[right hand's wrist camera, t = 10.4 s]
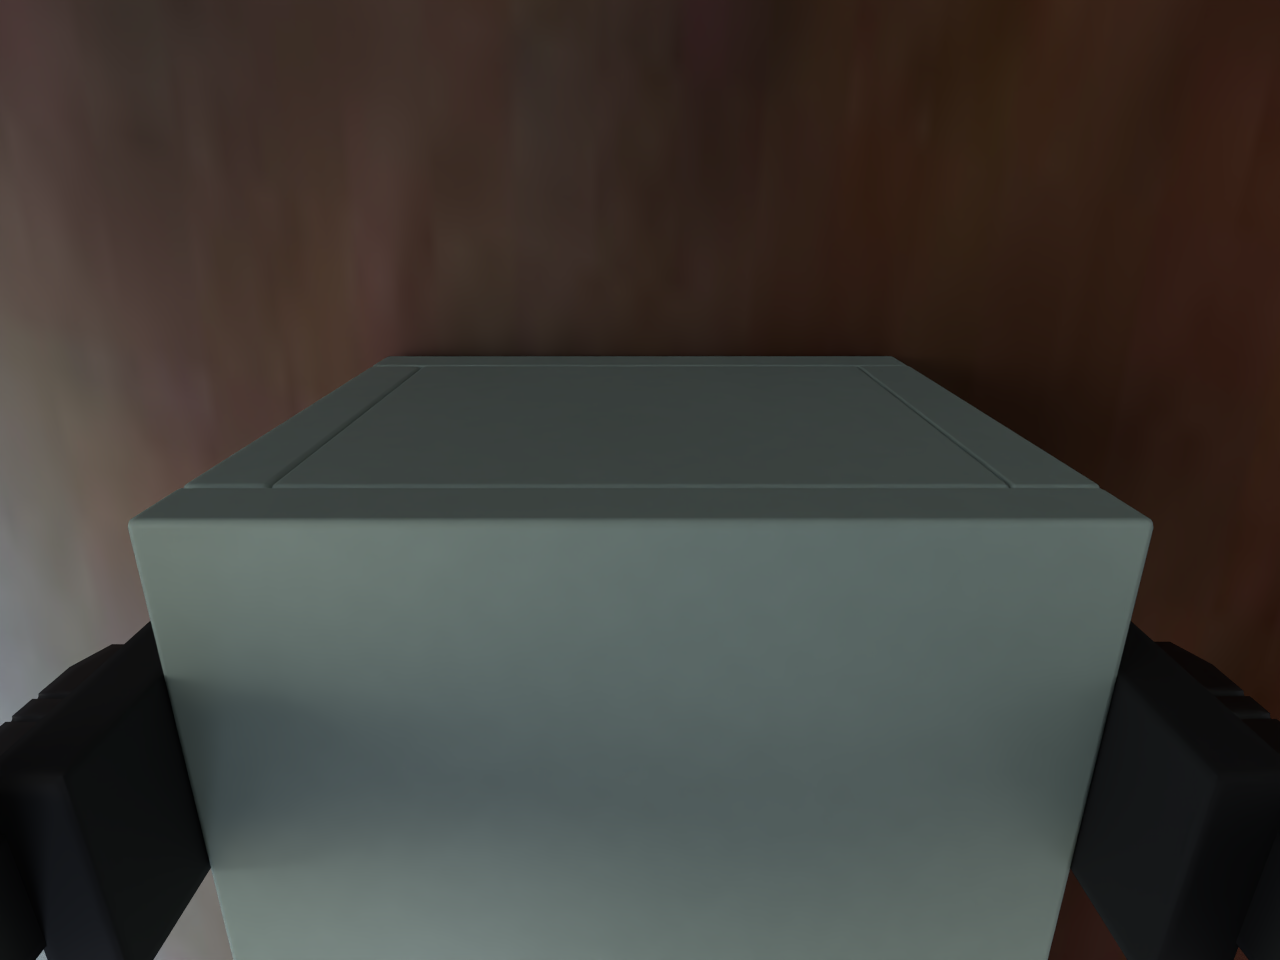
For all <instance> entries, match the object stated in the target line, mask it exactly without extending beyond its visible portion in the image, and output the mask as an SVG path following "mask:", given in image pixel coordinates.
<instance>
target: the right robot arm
mask: <svg viewBox="0 0 1280 960" xmlns="http://www.w3.org/2000/svg"><path fill="white" fill-rule="evenodd" d="M210 868H211V866H210V862H209V858H208V853H207V849H206V845H205V841H204V837H203V833H202V829H201V825H200V821H199V817H198V812H197V808H196V804H195V800H194V796H193V792H192V788H191V784H190V780H189V776H188V771H187V767H186V763H185V759H184V755H183V751H182V747H181V743H180V739H179V735H178V730H177V726H176V722H175V718H174V714H173V710H172V706H171V702H170V698H169V694H168V690H167V685H166V681H165V677H164V673H163V669H162V665H161V661H160V657H159V653H158V649H157V644H156V640H155V636H154V632H153V628H152V624H151V621H150V622H149V623H148V624H146V625H145V626H144V627H143V628H142V629H141V630H140V631H139V632H137V633H136V634H135V635H134V636H133V637H132V638H131V639H130V640H129V641H127V642H126V643H125V644H112V645H110V646H108V647H106V648H104V649H102V650H101V651H99V652H97V653H95V654H93V655H91V656H89V657H88V658H86V659H84V660H82V661H80V662H78V663H76V664H75V665H73V666H71V667H69V668H68V669H67V670H66V671H65V672H63V673H62V674H61V675H60V676H59V677H58V678H56V679H55V680H54V681H53V682H52V683H51V684H49V685H48V686H47V687H46V688H45V689H43V690H42V691H41V692H40V693H39V697H38V699H32V700H31V701H29V702H28V703H27V704H26V705H25V706H24V707H22V708H21V709H20V710H19V711H18V712H17V713H15V714H14V715H13V716H12V721H11V722H5V723H4V724H2V725H1V726H0V960H36V958H37V957H38V956H39V955H40V953H41V952H42V951H43V949H44V951H45V954H46V957H47V959H48V960H153V959H154V958H155V956H156V955H157V953H158V951H159V950H160V948H161V947H162V945H163V943H164V942H165V940H166V939H167V937H168V935H169V934H170V932H171V931H172V929H173V927H174V926H175V924H176V923H177V921H178V919H179V918H180V916H181V915H182V913H183V911H184V910H185V908H186V907H187V905H188V903H189V902H190V900H191V899H192V897H193V895H194V894H195V892H196V891H197V889H198V887H199V886H200V884H201V883H202V881H203V879H204V878H205V876H206V875H207V873H208V871H209V870H210ZM1070 868H1071V870H1072V872H1073V873H1074V875H1075V876H1076V878H1077V880H1078V881H1079V883H1080V884H1081V886H1082V888H1083V889H1084V891H1085V892H1086V894H1087V896H1088V897H1089V899H1090V900H1091V902H1092V904H1093V905H1094V907H1095V908H1096V910H1097V912H1098V913H1099V915H1100V916H1101V918H1102V920H1103V921H1104V923H1105V924H1106V926H1107V928H1108V929H1109V931H1110V932H1111V934H1112V936H1113V937H1114V939H1115V940H1116V942H1117V944H1118V945H1119V947H1120V948H1121V950H1122V952H1123V953H1124V955H1125V957H1126V958H1127V960H1234V957H1235V954H1236V952H1237V949H1238V947H1239V948H1240V949H1241V950H1242V952H1243V953H1244V954H1245V955H1246V957H1247V958H1248V959H1249V960H1280V721H1278V720H1277V719H1271V718H1270V713H1269V712H1268V711H1267V710H1265V709H1264V708H1263V707H1262V706H1261V705H1259V704H1258V703H1257V702H1256V701H1255V700H1254V699H1252V698H1251V697H1250V696H1244V694H1243V690H1242V689H1241V688H1239V687H1238V686H1237V685H1236V684H1235V683H1233V682H1232V681H1231V680H1230V679H1229V678H1228V677H1226V676H1225V675H1224V674H1223V673H1222V672H1220V671H1219V670H1218V669H1217V668H1216V667H1215V666H1213V665H1212V664H1210V663H1208V662H1207V661H1205V660H1203V659H1201V658H1199V657H1197V656H1195V655H1194V654H1192V653H1190V652H1188V651H1186V650H1184V649H1182V648H1180V647H1179V646H1177V645H1175V644H1173V643H1171V642H1153V641H1152V640H1151V639H1150V638H1149V637H1148V636H1147V635H1146V634H1145V633H1143V632H1142V631H1141V630H1140V629H1139V628H1138V627H1137V626H1136V625H1135V624H1133V623H1132V622H1131V621H1130V625H1129V629H1128V633H1127V637H1126V641H1125V645H1124V649H1123V653H1122V657H1121V661H1120V666H1119V670H1118V674H1117V678H1116V682H1115V686H1114V690H1113V694H1112V698H1111V702H1110V706H1109V711H1108V715H1107V719H1106V723H1105V727H1104V731H1103V735H1102V739H1101V743H1100V747H1099V751H1098V755H1097V760H1096V764H1095V768H1094V772H1093V776H1092V780H1091V784H1090V788H1089V792H1088V796H1087V800H1086V804H1085V809H1084V813H1083V817H1082V821H1081V825H1080V829H1079V833H1078V837H1077V841H1076V845H1075V849H1074V853H1073V858H1072V862H1071V866H1070Z"/></svg>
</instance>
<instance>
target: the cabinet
mask: <svg viewBox="0 0 1280 960" xmlns="http://www.w3.org/2000/svg"><path fill="white" fill-rule="evenodd" d="M128 530H129V534H130V538H131V542H132V546H133V550H134V554H135V558H136V563H137V567H138V571H139V575H140V579H141V583H142V587H143V591H144V595H145V599H146V603H147V608H148V612H149V616H150V620H151V624H152V628H153V632H154V636H155V640H156V644H157V649H158V653H159V657H160V661H161V665H162V669H163V673H164V677H165V681H166V685H167V690H168V694H169V698H170V702H171V706H172V710H173V714H174V718H175V722H176V726H177V730H178V735H179V739H180V743H181V747H182V751H183V755H184V759H185V763H186V767H187V771H188V776H189V780H190V784H191V788H192V792H193V796H194V800H195V804H196V808H197V812H198V817H199V821H200V825H201V829H202V833H203V837H204V841H205V845H206V849H207V853H208V858H209V862H210V866H211V870H212V874H213V878H214V882H215V886H216V890H217V894H218V898H219V903H220V907H221V911H222V915H223V919H224V923H225V927H226V931H227V935H228V939H229V944H230V948H231V952H232V956H233V960H1048V956H1049V952H1050V947H1051V943H1052V939H1053V935H1054V931H1055V927H1056V923H1057V919H1058V915H1059V911H1060V907H1061V903H1062V898H1063V894H1064V890H1065V886H1066V882H1067V878H1068V874H1069V870H1070V866H1071V862H1072V858H1073V853H1074V849H1075V845H1076V841H1077V837H1078V833H1079V829H1080V825H1081V821H1082V817H1083V813H1084V809H1085V804H1086V800H1087V796H1088V792H1089V788H1090V784H1091V780H1092V776H1093V772H1094V768H1095V764H1096V760H1097V755H1098V751H1099V747H1100V743H1101V739H1102V735H1103V731H1104V727H1105V723H1106V719H1107V715H1108V711H1109V706H1110V702H1111V698H1112V694H1113V690H1114V686H1115V682H1116V678H1117V674H1118V670H1119V666H1120V661H1121V657H1122V653H1123V649H1124V645H1125V641H1126V637H1127V633H1128V629H1129V625H1130V621H1131V617H1132V612H1133V608H1134V604H1135V600H1136V596H1137V592H1138V588H1139V584H1140V580H1141V576H1142V572H1143V568H1144V563H1145V559H1146V555H1147V551H1148V547H1149V543H1150V539H1151V535H1152V531H1153V522H1152V521H1151V519H1149V518H1148V517H1146V516H1145V515H1143V514H1141V513H1140V512H1138V511H1137V510H1135V509H1133V508H1132V507H1130V506H1129V505H1127V504H1126V503H1124V502H1122V501H1121V500H1119V499H1118V498H1116V497H1114V496H1113V495H1111V494H1110V493H1108V492H1106V491H1105V490H1103V489H1100V488H1099V485H1098V484H1096V483H1094V482H1093V481H1091V480H1090V479H1088V478H1086V477H1085V476H1083V475H1082V474H1080V473H1078V472H1077V471H1075V470H1074V469H1072V468H1070V467H1069V466H1067V465H1066V464H1064V463H1062V462H1061V461H1059V460H1058V459H1056V458H1055V457H1053V456H1051V455H1050V454H1048V453H1047V452H1045V451H1043V450H1042V449H1040V448H1039V447H1037V446H1035V445H1034V444H1032V443H1031V442H1029V441H1027V440H1026V439H1024V438H1023V437H1021V436H1019V435H1018V434H1016V433H1015V432H1013V431H1011V430H1010V429H1008V428H1007V427H1005V426H1004V425H1002V424H1000V423H999V422H997V421H996V420H994V419H992V418H991V417H989V416H988V415H986V414H984V413H983V412H981V411H980V410H978V409H976V408H975V407H973V406H972V405H970V404H968V403H967V402H965V401H964V400H962V399H960V398H959V397H957V396H956V395H954V394H953V393H951V392H949V391H948V390H946V389H945V388H943V387H941V386H940V385H938V384H937V383H935V382H933V381H932V380H930V379H929V378H927V377H925V376H924V375H922V374H921V373H919V372H917V371H916V370H914V369H913V368H911V367H909V366H907V365H905V364H903V363H902V362H900V361H899V360H897V359H896V358H894V357H892V356H389V357H387V358H385V359H383V360H382V361H380V362H379V363H377V364H375V365H374V366H373V367H371V368H369V369H368V370H366V371H364V372H363V373H361V374H360V375H358V376H357V377H355V378H353V379H352V380H350V381H349V382H347V383H346V384H344V385H342V386H341V387H339V388H338V389H336V390H334V391H333V392H331V393H330V394H328V395H327V396H325V397H323V398H322V399H320V400H319V401H317V402H315V403H314V404H312V405H311V406H309V407H308V408H306V409H304V410H303V411H301V412H300V413H298V414H297V415H295V416H293V417H292V418H290V419H289V420H287V421H285V422H284V423H282V424H281V425H279V426H278V427H276V428H274V429H273V430H271V431H270V432H268V433H267V434H265V435H263V436H262V437H260V438H259V439H257V440H255V441H254V442H252V443H251V444H249V445H248V446H246V447H244V448H243V449H241V450H240V451H238V452H236V453H235V454H233V455H232V456H230V457H229V458H227V459H225V460H224V461H222V462H221V463H219V464H218V465H216V466H214V467H213V468H211V469H210V470H208V471H206V472H205V473H203V474H202V475H200V476H199V477H197V478H195V479H194V480H192V481H191V482H189V483H187V484H186V485H185V487H184V488H181V489H179V490H176V491H175V492H173V493H172V494H170V495H168V496H167V497H165V498H164V499H162V500H160V501H159V502H157V503H156V504H154V505H153V506H151V507H149V508H148V509H146V510H145V511H143V512H141V513H140V514H138V515H137V516H135V517H134V518H132V519H130V521H129V524H128Z"/></svg>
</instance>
